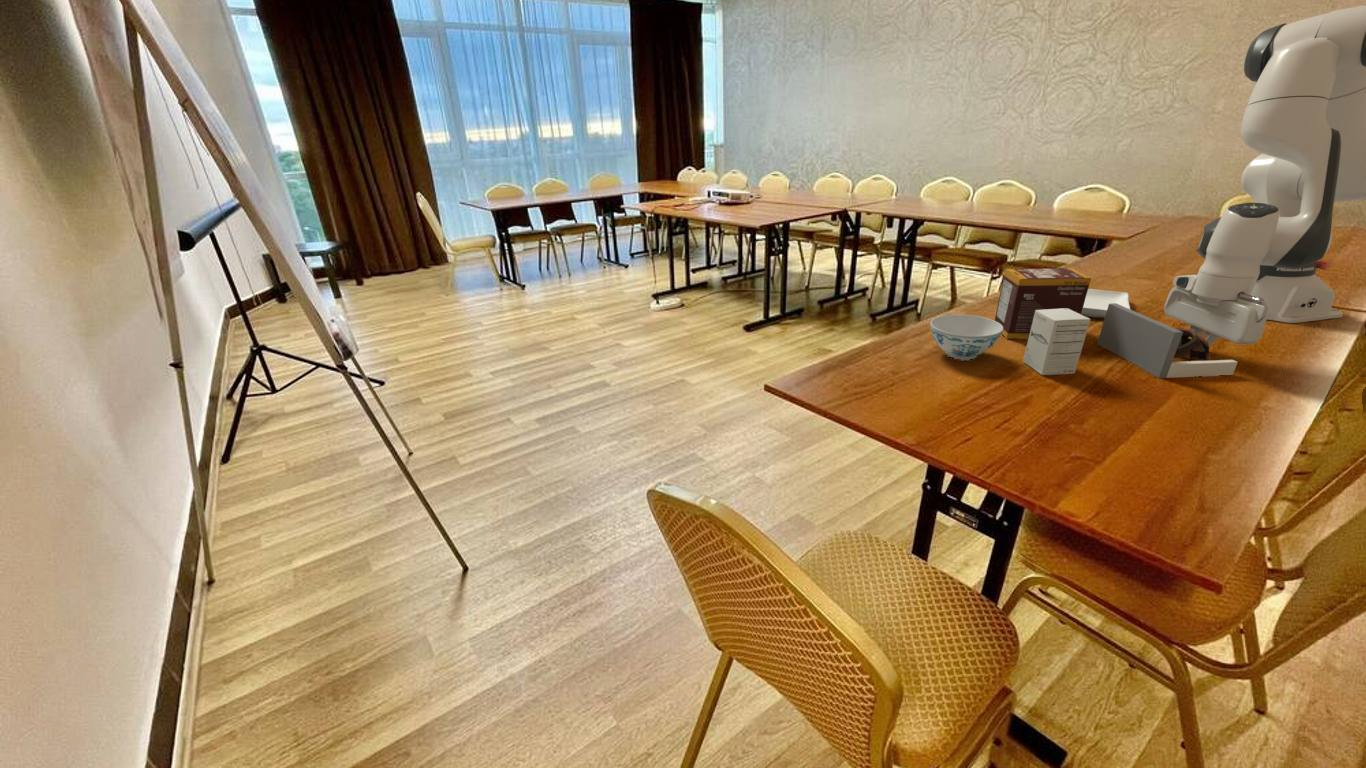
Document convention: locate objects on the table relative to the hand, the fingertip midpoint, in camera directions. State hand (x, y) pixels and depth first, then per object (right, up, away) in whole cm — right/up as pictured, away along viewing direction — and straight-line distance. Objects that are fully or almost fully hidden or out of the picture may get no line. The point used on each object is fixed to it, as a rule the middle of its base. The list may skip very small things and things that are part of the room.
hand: (1198, 348), depth 113 cm
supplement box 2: (-32, -4, +1) cm, 33 cm away
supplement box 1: (-23, +5, +20) cm, 31 cm away
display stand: (-7, -2, +2) cm, 8 cm away
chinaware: (-47, -1, +11) cm, 48 cm away
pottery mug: (-5, -3, 0) cm, 5 cm away
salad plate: (0, +14, +35) cm, 37 cm away
